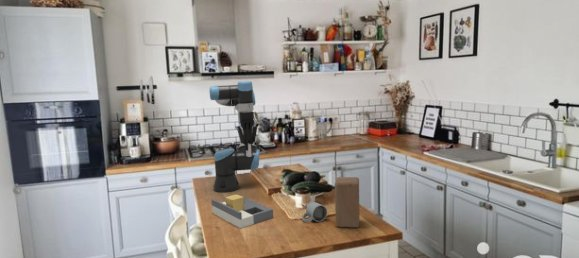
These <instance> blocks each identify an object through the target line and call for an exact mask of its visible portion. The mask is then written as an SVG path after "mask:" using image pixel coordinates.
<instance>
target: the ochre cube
mask: <svg viewBox="0 0 579 258" xmlns="http://www.w3.org/2000/svg"><path fill="white" fill-rule="evenodd" d="M243 197H244V196H241V195H239V194H232V195H229V196H226V197H225V202H226V205H227V206H229V207H231V208H233V209H235V210H237V211H240V210H244V199H243Z"/></svg>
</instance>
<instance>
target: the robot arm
mask: <svg viewBox="0 0 579 258" xmlns="http://www.w3.org/2000/svg"><path fill="white" fill-rule="evenodd" d="M254 92H255V91H254V87H253V82H252V81H251V80H250V81H249V80H246V81H245V80H244V81H238V82H237V84H231V85H229V84H227V85H211V86H210V87H209V98H210V100H211V101H215V102H216V103H217V104H218V105H220V106H225V107H234V109H235V110H236V111H237V118H238V121H237V122H238V125H235V129H236V130H237V133H238V137H239V138H238V139H239V146H238V147H237V150H235V149H234V148H224V149H221V150H218V151H216V152H215V153H214V155H213V156H214V168H215V169H214V170H215V171H214V172H215V179H214V182H213V191H214V192H217V193H228V192H233V191H234V192H235V191H236V190H238V189H239V188H240V183H239V180H238V178H237V176H236V172H237V171H249V170H250V171H252V170H258V168H259V167H260V155H261V153H260V152H261V151H260V149H258V146H257V145H256V144H255V142H256V141H257V133H258V127H259V126H260V125H259V123H256V122H255V112H254V110H255V109H254V106H255V105H256V96H255V93H254Z"/></svg>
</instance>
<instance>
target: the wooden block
mask: <svg viewBox="0 0 579 258" xmlns="http://www.w3.org/2000/svg"><path fill="white" fill-rule="evenodd" d="M334 203H335V205H334V206H335V207H334V208H335V210H334V211H335V212H334V213H335V226H336V227H338V228H359V227H360V179H359V177H358V176H354V177H353V176H352V177H351V176H338V177H336V180H335V183H334Z"/></svg>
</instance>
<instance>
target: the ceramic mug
mask: <svg viewBox="0 0 579 258" xmlns="http://www.w3.org/2000/svg"><path fill="white" fill-rule="evenodd" d="M327 215H328V209H327V207H326V206H325V205H324V204H320V203H318V202H316V201H314V202H312V203H309V204H308V205H307V206H305V213H304V214H303V215H302V217H301V219H302V221H303V222H304V223H309V222H311V221H315V223H316V222H317V223H321V222H323V221H324V220H325V219H326V218H327ZM306 217H308V218H306Z"/></svg>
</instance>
